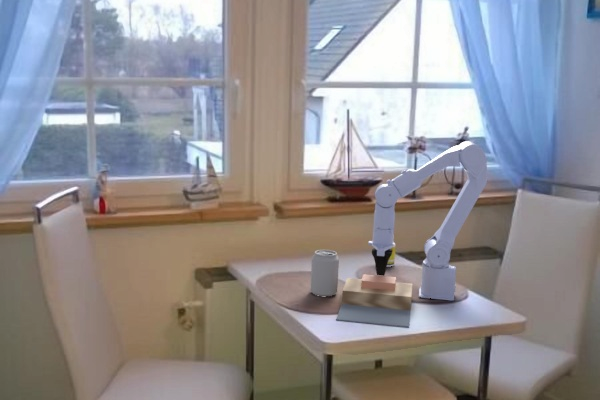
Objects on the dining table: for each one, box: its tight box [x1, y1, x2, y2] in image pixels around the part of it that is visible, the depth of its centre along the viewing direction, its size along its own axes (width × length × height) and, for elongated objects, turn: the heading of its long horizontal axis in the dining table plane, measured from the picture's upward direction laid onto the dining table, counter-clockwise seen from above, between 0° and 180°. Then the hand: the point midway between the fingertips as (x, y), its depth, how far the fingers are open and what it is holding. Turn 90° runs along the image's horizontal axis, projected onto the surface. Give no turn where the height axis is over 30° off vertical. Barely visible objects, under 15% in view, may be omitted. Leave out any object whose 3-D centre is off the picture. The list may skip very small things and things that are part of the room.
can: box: [309, 249, 340, 297], centre depth 200 cm, size 8×8×12 cm
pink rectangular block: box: [361, 273, 397, 291], centre depth 197 cm, size 9×6×2 cm, turn 80°
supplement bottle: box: [386, 237, 396, 268], centre depth 232 cm, size 5×5×10 cm
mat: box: [335, 303, 411, 328], centre depth 185 cm, size 18×12×1 cm, turn 80°
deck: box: [341, 277, 413, 311], centre depth 197 cm, size 18×12×4 cm, turn 80°
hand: (380, 274), depth 204 cm, fingers closed
